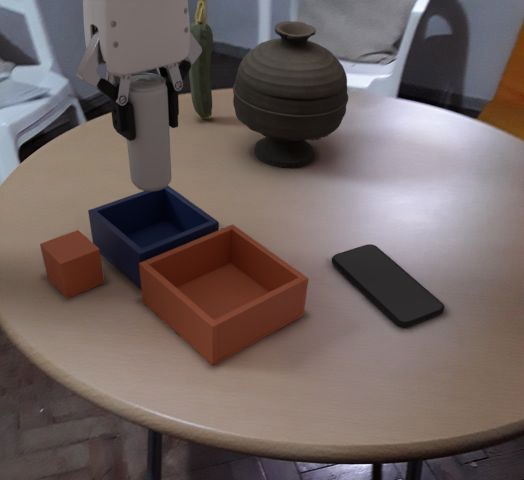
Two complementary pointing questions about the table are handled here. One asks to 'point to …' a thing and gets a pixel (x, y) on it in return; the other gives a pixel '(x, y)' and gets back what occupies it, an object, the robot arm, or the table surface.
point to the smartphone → (388, 285)
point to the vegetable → (201, 64)
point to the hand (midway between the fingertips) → (147, 127)
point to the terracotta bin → (223, 292)
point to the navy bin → (146, 228)
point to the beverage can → (150, 133)
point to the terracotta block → (72, 263)
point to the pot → (290, 95)
